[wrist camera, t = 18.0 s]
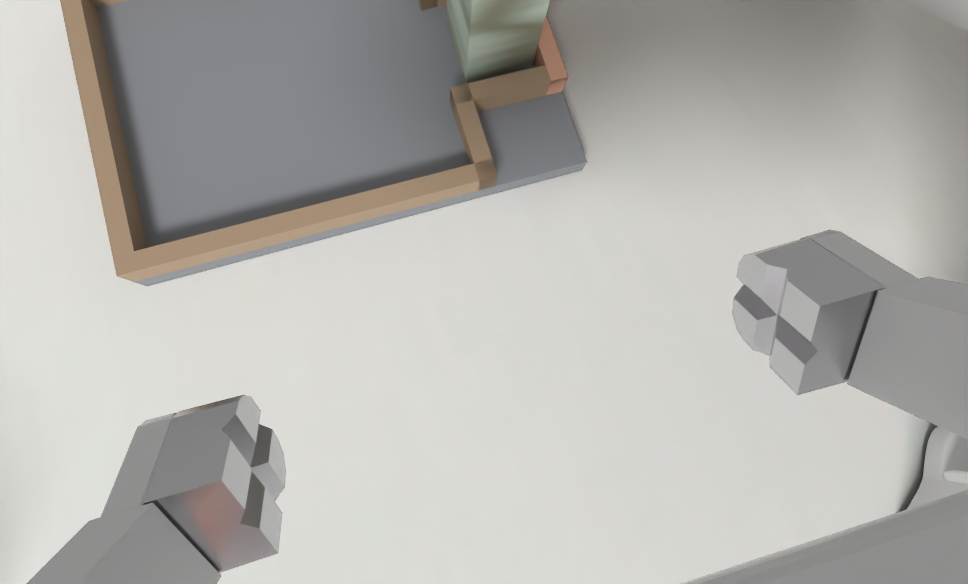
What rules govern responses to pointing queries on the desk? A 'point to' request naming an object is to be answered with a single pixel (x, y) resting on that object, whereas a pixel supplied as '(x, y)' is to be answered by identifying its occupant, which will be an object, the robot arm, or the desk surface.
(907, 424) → the desk surface
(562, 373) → the desk surface
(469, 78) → the green peg
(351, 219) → the keyhole dock
